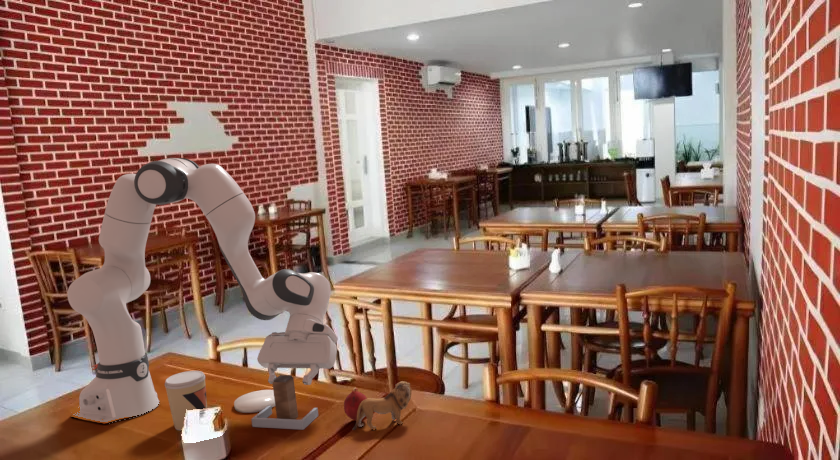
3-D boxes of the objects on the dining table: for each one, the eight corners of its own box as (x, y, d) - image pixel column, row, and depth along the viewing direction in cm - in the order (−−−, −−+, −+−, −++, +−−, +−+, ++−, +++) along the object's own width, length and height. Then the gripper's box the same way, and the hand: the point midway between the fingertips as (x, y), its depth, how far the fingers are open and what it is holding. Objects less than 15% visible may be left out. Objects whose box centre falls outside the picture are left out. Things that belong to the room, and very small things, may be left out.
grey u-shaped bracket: (252, 426, 150) (251, 418, 150) (269, 413, 157) (268, 405, 157) (303, 429, 146) (302, 421, 146) (318, 415, 153) (317, 407, 153)
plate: (225, 411, 161) (224, 407, 161) (251, 393, 172) (250, 389, 172) (266, 413, 157) (265, 409, 157) (290, 394, 168) (289, 390, 168)
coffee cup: (194, 433, 149) (187, 384, 148) (162, 431, 152) (155, 383, 151) (219, 416, 158) (212, 370, 157) (188, 414, 161) (181, 369, 160)
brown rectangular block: (277, 422, 151) (272, 380, 150) (285, 415, 155) (279, 374, 153) (290, 423, 150) (285, 380, 149) (298, 416, 154) (293, 375, 152)
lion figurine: (410, 413, 149) (406, 376, 148) (418, 421, 145) (414, 383, 143) (349, 428, 144) (345, 390, 143) (356, 437, 139) (351, 398, 138)
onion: (366, 426, 144) (362, 393, 143) (342, 426, 145) (338, 393, 144) (373, 415, 150) (369, 383, 149) (350, 415, 151) (346, 383, 150)
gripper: (262, 326, 162) (245, 377, 154) (334, 326, 156) (321, 378, 148) (273, 338, 167) (257, 387, 159) (343, 338, 161) (331, 389, 153)
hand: (288, 383), depth 154 cm, fingers open, 8 cm apart
